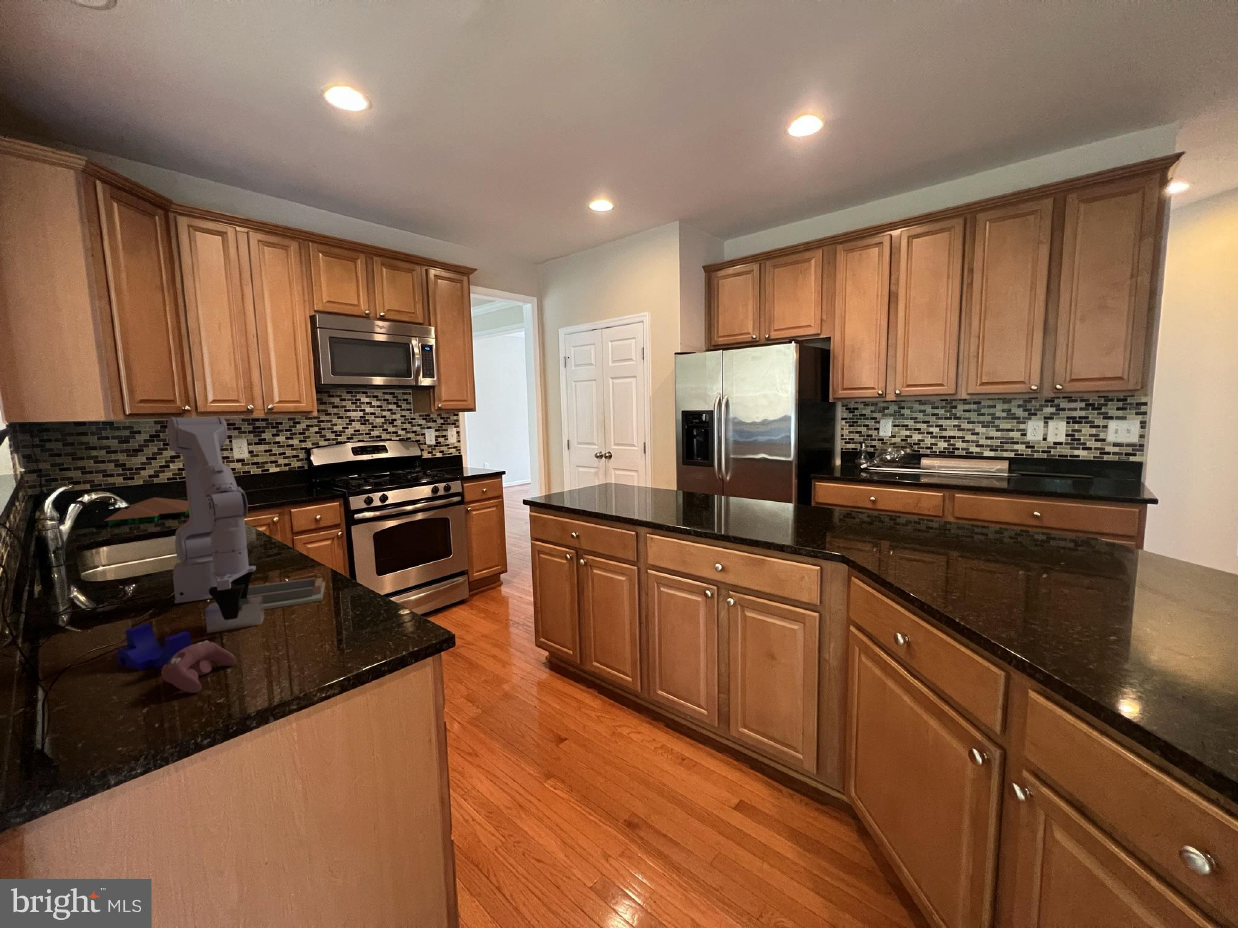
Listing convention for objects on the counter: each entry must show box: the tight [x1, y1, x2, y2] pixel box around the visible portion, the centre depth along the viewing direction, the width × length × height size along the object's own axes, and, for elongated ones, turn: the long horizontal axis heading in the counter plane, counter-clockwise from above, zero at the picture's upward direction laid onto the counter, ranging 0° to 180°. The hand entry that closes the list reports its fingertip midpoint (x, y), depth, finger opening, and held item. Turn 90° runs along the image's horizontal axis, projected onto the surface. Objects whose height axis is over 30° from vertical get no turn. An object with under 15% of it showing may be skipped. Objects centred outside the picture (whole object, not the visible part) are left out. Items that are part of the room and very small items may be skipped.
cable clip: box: [116, 623, 192, 671], centre depth 88 cm, size 12×4×6 cm, turn 72°
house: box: [104, 497, 189, 528], centre depth 207 cm, size 23×33×8 cm
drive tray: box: [247, 577, 326, 610], centre depth 118 cm, size 18×12×3 cm, turn 117°
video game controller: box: [160, 639, 237, 694], centre depth 83 cm, size 10×5×7 cm, turn 5°
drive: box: [204, 596, 265, 634], centre depth 104 cm, size 9×4×5 cm, turn 117°
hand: (235, 611), depth 104 cm, fingers open, 7 cm apart
